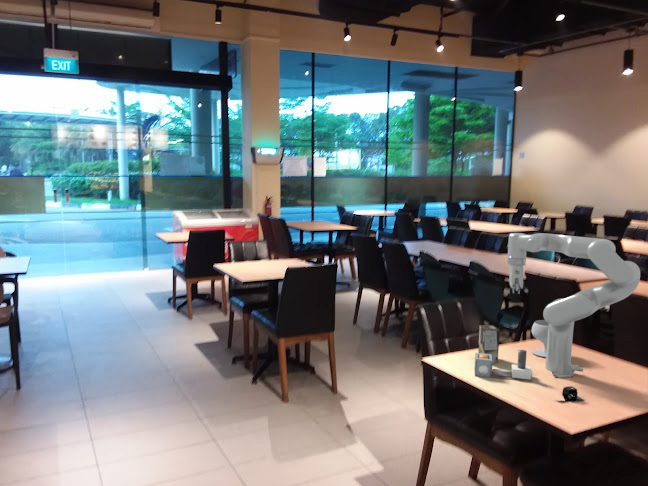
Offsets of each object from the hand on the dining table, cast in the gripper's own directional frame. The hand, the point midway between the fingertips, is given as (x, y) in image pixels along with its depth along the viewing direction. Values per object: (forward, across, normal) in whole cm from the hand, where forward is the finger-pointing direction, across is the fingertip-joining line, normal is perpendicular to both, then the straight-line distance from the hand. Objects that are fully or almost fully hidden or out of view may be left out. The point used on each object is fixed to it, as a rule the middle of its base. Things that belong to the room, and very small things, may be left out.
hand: (514, 299), depth 228 cm
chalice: (+28, +16, -17) cm, 37 cm away
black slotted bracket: (+29, -35, -18) cm, 49 cm away
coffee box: (+28, -4, +10) cm, 30 cm away
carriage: (+27, -22, -2) cm, 35 cm away
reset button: (+22, -22, +13) cm, 34 cm away
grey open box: (+27, -22, +13) cm, 37 cm away
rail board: (+28, -22, +5) cm, 36 cm away
